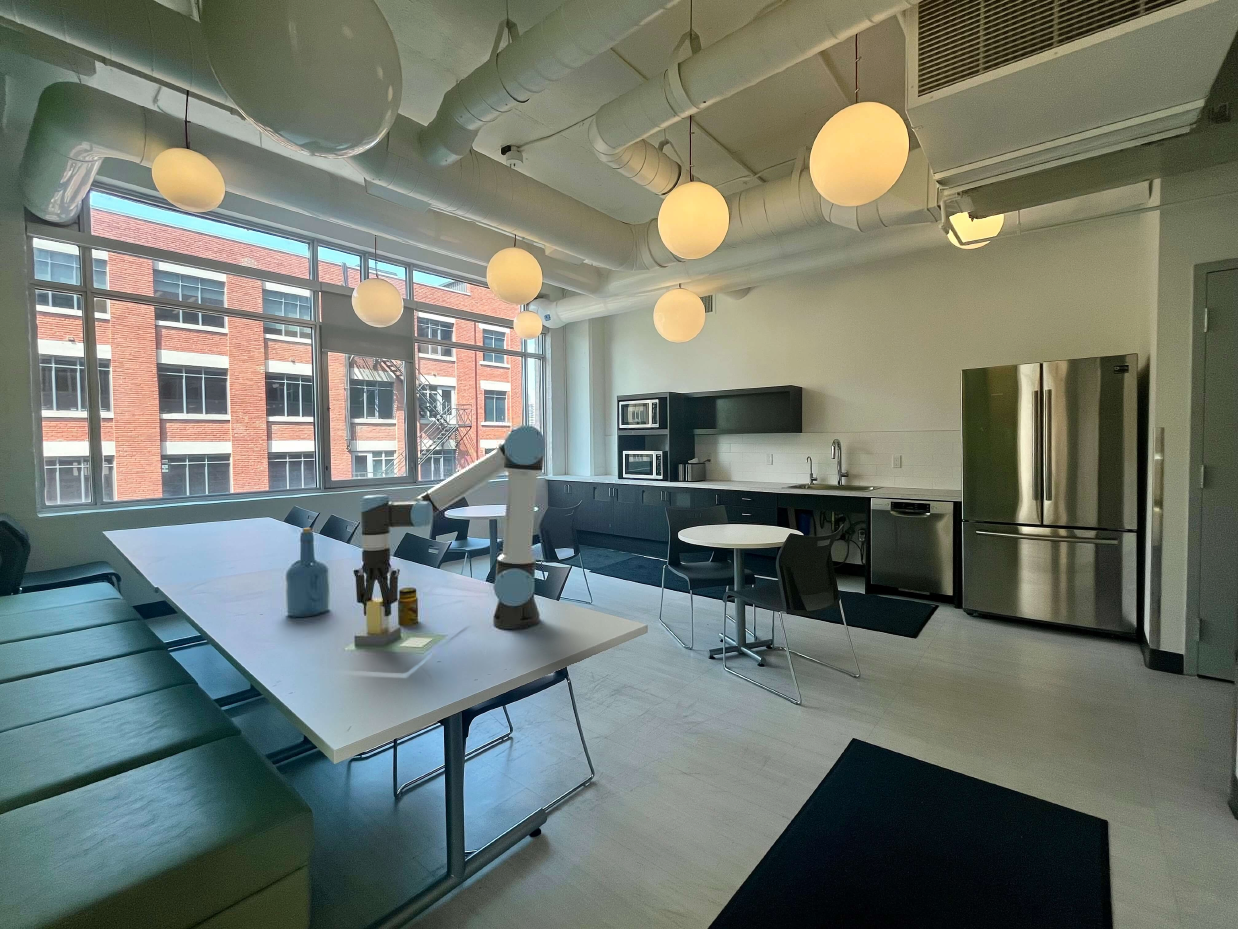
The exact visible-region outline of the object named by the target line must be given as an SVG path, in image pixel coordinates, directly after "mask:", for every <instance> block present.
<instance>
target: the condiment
mask: <svg viewBox="0 0 1238 929" xmlns="http://www.w3.org/2000/svg"><path fill="white" fill-rule="evenodd" d="M418 602H419V600H418V596H417V589H416V588H415V587H404V588H401V589H399V590H398V600H397V616H398V617H397V620H398V621H397V623H398V625H399V626H412V625H415V624H417V623H418V621H419V604H418Z"/></svg>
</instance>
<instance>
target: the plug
mask: <svg viewBox="0 0 1238 929" xmlns="http://www.w3.org/2000/svg"><path fill="white" fill-rule="evenodd" d="M382 605H383V600H382V597H375V598H372V600H370V601H368V602H367V627H366V629H367V631H368V633H370V634H382V633H384V632H385V631H387V630H388V626H387V627H386V628H384V629H381V606H382Z"/></svg>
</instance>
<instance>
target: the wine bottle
mask: <svg viewBox="0 0 1238 929" xmlns="http://www.w3.org/2000/svg"><path fill="white" fill-rule="evenodd" d="M314 541H315V537H314V531H312V528H311V527H304V528H302V531H301V532H300V538H299V543H300V544H299V545H300V546H299V547H300V549H299V550H300V553H299V554H300V555H299V559H298V560H296V561H295V562H294V563H292V564H291V565H290V567H289V568H288V569H287V570H286V572H285V601H286V602H285V603H286V604H285V605H286V606H285V607H286V608H285V610H286V614H287V616H289V617H293V618H309V617H313V616H314V617H315V616H318V615H321V614H324V613H326V612H328V610H329V609H330V607H331V606H330V602H331V601H330V600H331V599H330V598H331V597H330V593H331V592H330V570H329V568H328V566H327V565H326V564H325V563H324V562H321V561H318V560H316V557H315V544H314Z"/></svg>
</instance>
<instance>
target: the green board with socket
mask: <svg viewBox="0 0 1238 929" xmlns="http://www.w3.org/2000/svg"><path fill="white" fill-rule="evenodd" d="M401 629H402V625H399V626H398V625H395V626H394V625H389V626H388V630H387V631H385V632H384V633H382V634H370V633H368V631H367V628H366V629H364V630H361V631H360V632H359V633H357V634H355V635H354V642H353V643H352V644H350V645H349V646H346V647H345V648H343V650H344V651H360V652H362V651H364V652H365V651H366V652H378V653H379V652H380V653H400V654H418V655H419V654H420V655H421V654H425V653H426V652H427V651H428V650H430V649H431V648H432V647H434V646H435V645H437V643H439V642H440V641H442V640H443V639H444V638H446V637H447V636H448V634H437V633H436V634H435V633H434V634H433V633H419V632H418V633H417V632H415V633H414V632H402V630H401Z"/></svg>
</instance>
